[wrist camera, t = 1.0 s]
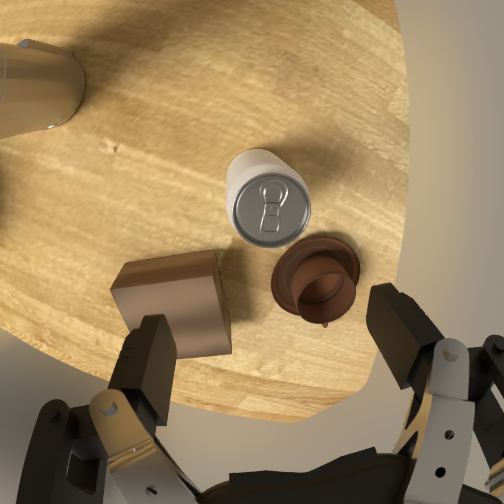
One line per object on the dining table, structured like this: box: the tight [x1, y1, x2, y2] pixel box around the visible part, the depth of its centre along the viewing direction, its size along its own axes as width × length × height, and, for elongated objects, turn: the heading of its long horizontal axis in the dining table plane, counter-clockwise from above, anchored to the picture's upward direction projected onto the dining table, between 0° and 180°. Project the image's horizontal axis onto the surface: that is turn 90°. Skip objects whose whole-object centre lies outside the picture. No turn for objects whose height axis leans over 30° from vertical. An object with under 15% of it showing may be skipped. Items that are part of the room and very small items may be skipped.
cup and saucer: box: [271, 237, 360, 328], centre depth 34 cm, size 12×12×6 cm
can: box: [226, 149, 311, 248], centre depth 25 cm, size 6×6×12 cm
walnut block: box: [110, 249, 232, 359], centre depth 33 cm, size 12×12×6 cm
